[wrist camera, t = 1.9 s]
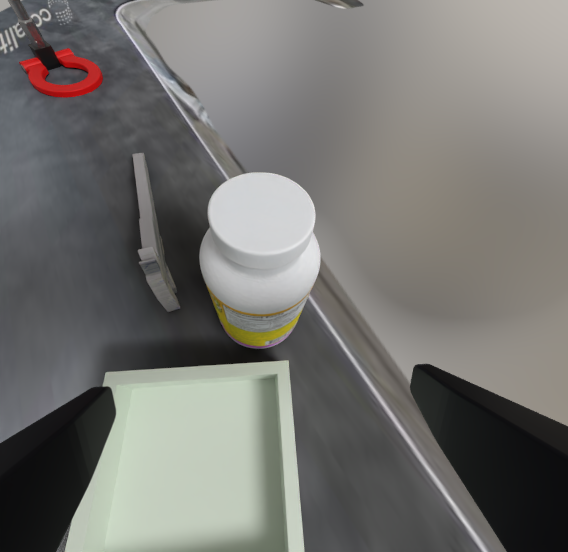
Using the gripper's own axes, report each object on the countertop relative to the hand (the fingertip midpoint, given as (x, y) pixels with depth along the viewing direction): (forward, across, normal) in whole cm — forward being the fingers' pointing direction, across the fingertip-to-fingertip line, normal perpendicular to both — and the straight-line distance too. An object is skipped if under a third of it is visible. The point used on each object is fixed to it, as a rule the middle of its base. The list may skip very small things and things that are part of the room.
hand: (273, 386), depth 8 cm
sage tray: (+7, +4, +12) cm, 14 cm away
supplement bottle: (+14, 0, +4) cm, 15 cm away
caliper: (+22, +10, -3) cm, 24 cm away
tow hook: (+39, +25, -20) cm, 51 cm away
